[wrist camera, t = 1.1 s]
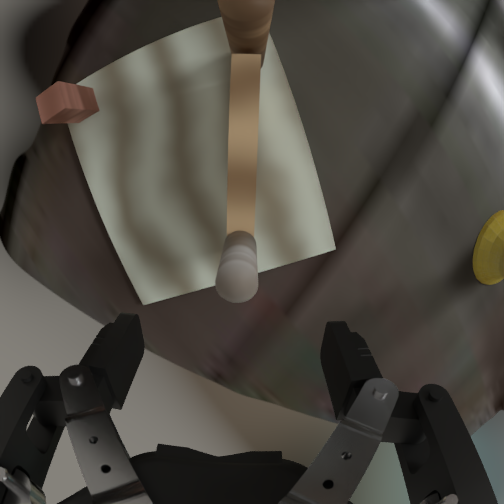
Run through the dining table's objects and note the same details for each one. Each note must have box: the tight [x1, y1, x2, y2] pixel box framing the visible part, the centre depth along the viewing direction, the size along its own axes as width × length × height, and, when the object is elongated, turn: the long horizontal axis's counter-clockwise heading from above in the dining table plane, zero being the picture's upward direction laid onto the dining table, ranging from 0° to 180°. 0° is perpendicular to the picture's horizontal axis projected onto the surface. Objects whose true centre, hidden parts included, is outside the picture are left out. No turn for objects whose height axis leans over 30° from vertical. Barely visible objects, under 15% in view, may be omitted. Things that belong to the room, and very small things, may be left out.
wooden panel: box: [215, 54, 261, 303], centre depth 22 cm, size 17×2×15 cm, turn 178°
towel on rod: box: [36, 0, 336, 305], centre depth 22 cm, size 24×28×16 cm
